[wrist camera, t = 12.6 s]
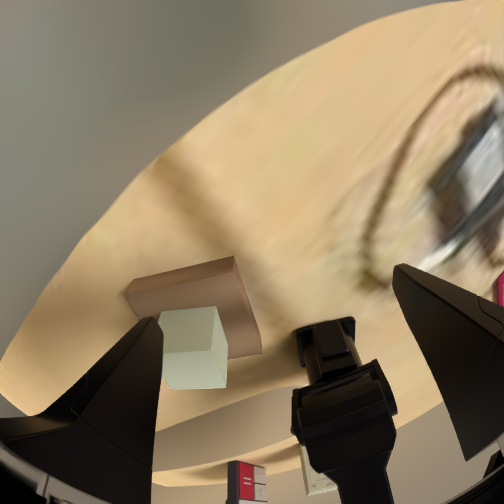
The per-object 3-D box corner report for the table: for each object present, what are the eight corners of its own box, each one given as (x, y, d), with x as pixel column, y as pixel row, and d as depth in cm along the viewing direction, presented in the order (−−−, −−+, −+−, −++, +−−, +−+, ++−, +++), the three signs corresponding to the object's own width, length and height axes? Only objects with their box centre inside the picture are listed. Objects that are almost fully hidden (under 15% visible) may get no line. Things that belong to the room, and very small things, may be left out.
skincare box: (298, 448, 46) (304, 496, 36) (300, 441, 44) (307, 493, 33) (326, 444, 46) (335, 490, 36) (331, 437, 44) (340, 487, 34)
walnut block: (260, 332, 28) (262, 353, 26) (175, 346, 29) (171, 366, 27) (233, 253, 24) (232, 271, 21) (135, 277, 25) (124, 295, 22)
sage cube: (228, 345, 25) (226, 387, 21) (178, 348, 25) (170, 389, 21) (215, 305, 23) (211, 350, 18) (161, 311, 23) (147, 353, 18)
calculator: (267, 467, 53) (270, 515, 40) (254, 470, 55) (256, 517, 41) (239, 459, 49) (239, 514, 36) (225, 462, 50) (225, 514, 37)
